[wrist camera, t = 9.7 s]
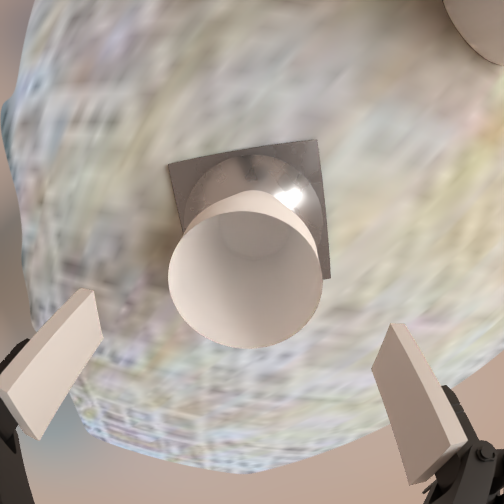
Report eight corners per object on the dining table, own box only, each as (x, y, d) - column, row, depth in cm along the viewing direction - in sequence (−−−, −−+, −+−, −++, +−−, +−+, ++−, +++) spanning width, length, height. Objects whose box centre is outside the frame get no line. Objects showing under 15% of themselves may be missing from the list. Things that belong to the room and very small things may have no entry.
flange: (170, 163, 27) (164, 165, 26) (315, 139, 26) (318, 139, 24) (200, 292, 32) (197, 299, 31) (329, 275, 31) (332, 282, 29)
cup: (322, 218, 27) (358, 276, 16) (261, 286, 30) (257, 371, 19) (244, 156, 25) (225, 171, 14) (187, 233, 28) (139, 295, 17)
